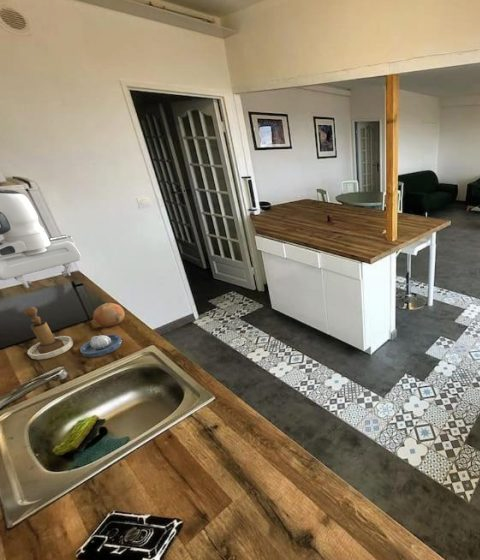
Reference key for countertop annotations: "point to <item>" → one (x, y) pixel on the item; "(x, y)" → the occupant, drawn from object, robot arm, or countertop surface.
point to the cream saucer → (36, 355)
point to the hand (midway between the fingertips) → (49, 281)
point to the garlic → (100, 342)
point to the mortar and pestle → (43, 333)
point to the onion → (108, 314)
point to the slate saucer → (92, 352)
